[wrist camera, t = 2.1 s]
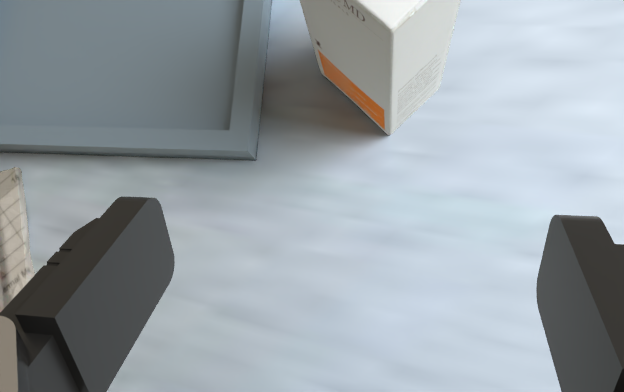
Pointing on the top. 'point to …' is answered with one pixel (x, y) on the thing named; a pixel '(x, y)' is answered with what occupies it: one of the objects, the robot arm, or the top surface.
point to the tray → (133, 77)
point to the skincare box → (382, 51)
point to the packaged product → (13, 237)
